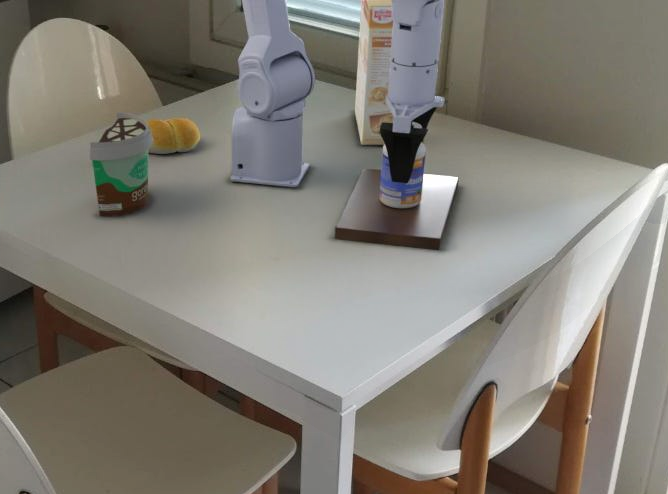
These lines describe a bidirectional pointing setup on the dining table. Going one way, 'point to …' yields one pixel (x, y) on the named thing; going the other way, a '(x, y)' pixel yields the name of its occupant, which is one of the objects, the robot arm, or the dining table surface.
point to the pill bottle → (403, 192)
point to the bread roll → (173, 135)
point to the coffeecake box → (373, 69)
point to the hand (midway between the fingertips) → (404, 170)
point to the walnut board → (398, 213)
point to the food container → (122, 165)
